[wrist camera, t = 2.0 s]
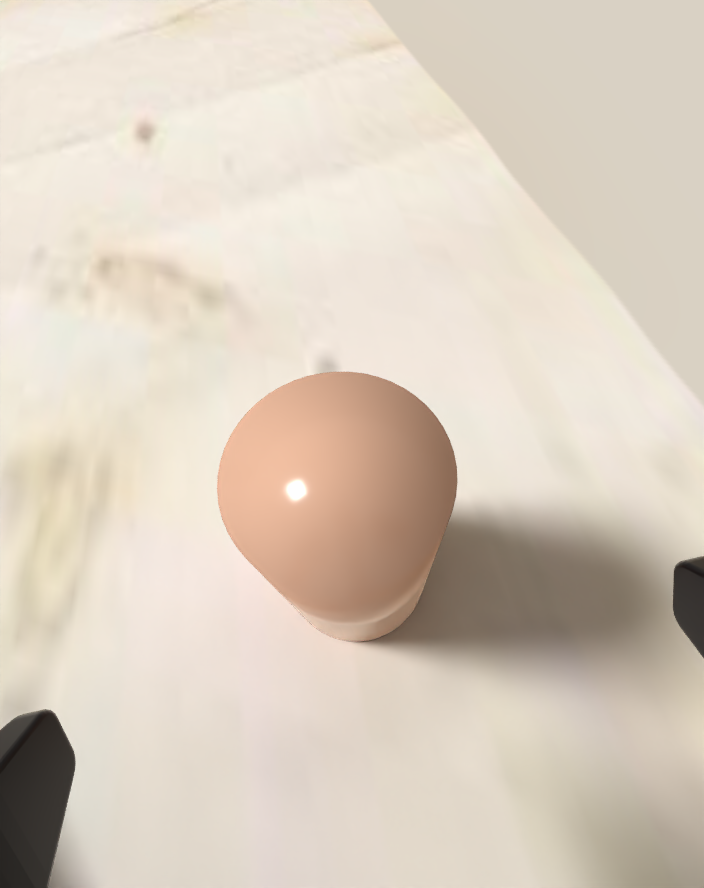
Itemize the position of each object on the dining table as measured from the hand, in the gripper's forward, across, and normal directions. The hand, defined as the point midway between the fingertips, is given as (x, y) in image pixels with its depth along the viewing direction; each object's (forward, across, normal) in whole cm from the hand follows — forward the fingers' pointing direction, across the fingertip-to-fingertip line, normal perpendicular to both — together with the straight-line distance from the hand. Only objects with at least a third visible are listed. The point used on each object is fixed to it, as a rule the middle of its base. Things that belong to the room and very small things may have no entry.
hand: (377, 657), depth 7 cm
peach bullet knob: (+10, 0, +5) cm, 12 cm away
